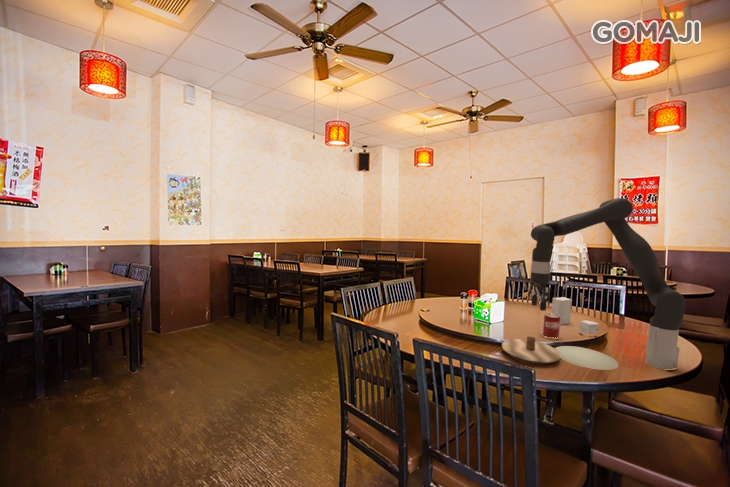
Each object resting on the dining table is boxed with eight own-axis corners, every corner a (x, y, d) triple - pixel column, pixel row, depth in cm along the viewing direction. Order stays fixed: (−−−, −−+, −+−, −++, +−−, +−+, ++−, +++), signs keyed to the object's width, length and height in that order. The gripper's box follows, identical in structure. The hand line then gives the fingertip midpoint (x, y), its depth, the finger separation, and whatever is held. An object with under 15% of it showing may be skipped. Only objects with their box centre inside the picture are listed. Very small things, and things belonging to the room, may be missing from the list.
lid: (545, 342, 157) (546, 330, 157) (571, 363, 135) (572, 350, 134) (495, 339, 159) (496, 327, 159) (512, 360, 136) (513, 347, 136)
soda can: (561, 341, 166) (562, 318, 165) (545, 340, 167) (546, 316, 166) (555, 336, 173) (557, 313, 172) (540, 335, 174) (542, 312, 173)
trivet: (596, 348, 158) (596, 347, 158) (632, 372, 134) (632, 371, 134) (543, 345, 160) (543, 344, 160) (569, 369, 136) (570, 367, 136)
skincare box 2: (588, 338, 172) (589, 324, 171) (578, 333, 178) (579, 320, 177) (597, 337, 173) (599, 323, 172) (587, 333, 179) (589, 320, 178)
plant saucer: (511, 344, 162) (511, 338, 161) (560, 357, 149) (560, 349, 148) (498, 358, 146) (498, 351, 145) (551, 373, 133) (552, 365, 132)
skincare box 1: (562, 321, 198) (564, 296, 197) (570, 324, 193) (572, 299, 191) (550, 321, 197) (552, 297, 195) (558, 325, 191) (560, 299, 189)
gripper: (557, 274, 139) (555, 312, 140) (541, 268, 153) (539, 303, 154) (538, 274, 139) (536, 312, 141) (524, 268, 153) (523, 303, 155)
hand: (538, 307), depth 148 cm, fingers open, 8 cm apart
